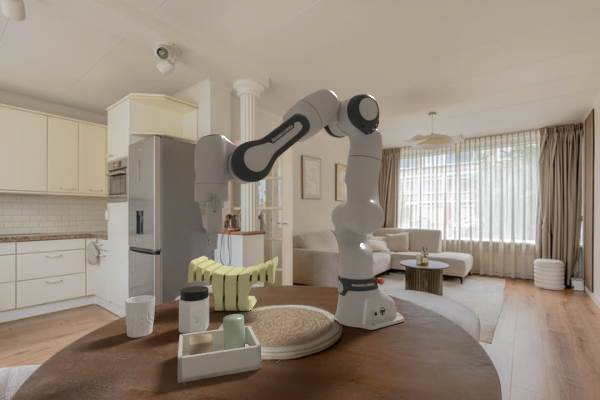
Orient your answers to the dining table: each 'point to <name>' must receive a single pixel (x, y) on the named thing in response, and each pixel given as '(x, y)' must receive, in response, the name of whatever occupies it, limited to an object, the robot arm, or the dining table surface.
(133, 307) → the white cup
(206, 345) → the beech cube
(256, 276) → the slatted curved stool
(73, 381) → the dining table surface
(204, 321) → the jar
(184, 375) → the tote
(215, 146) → the robot arm
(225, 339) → the sage cylinder
